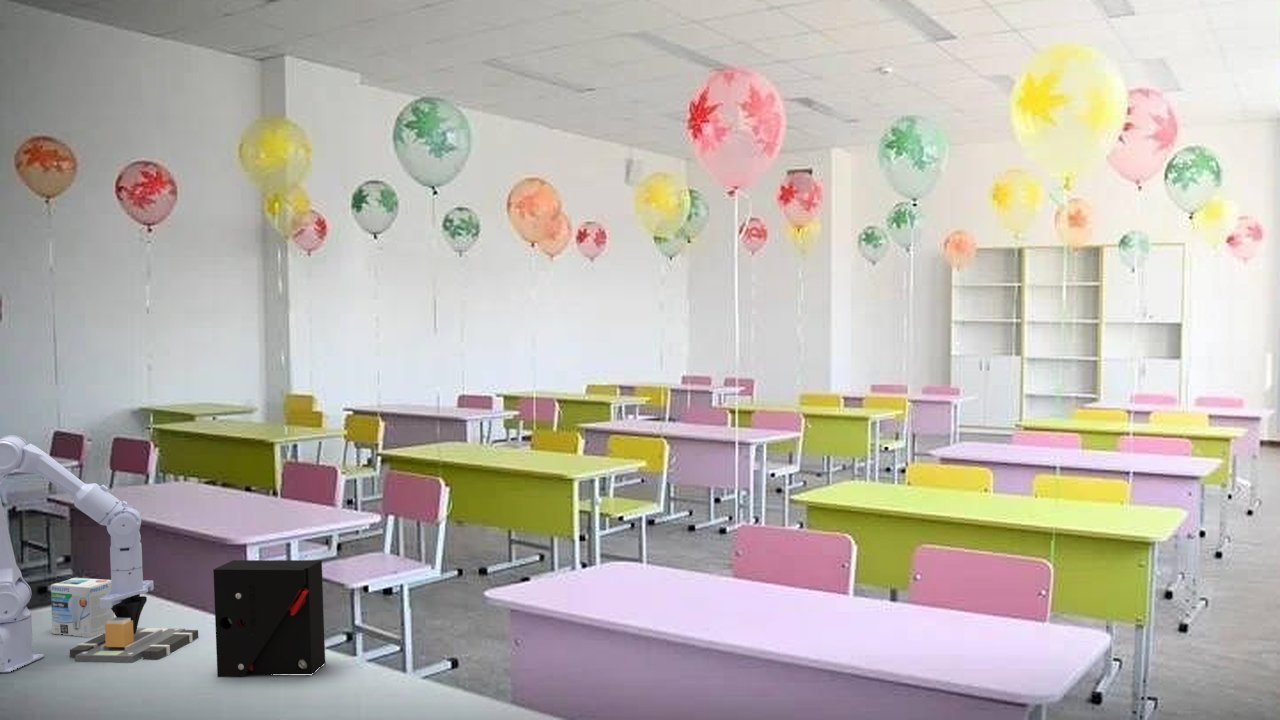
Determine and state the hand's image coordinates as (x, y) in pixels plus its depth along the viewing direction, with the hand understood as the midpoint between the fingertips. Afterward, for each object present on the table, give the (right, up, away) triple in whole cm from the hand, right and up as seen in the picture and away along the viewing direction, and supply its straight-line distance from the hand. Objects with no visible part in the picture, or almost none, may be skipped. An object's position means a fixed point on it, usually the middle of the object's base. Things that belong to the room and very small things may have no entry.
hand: (129, 634), depth 208 cm
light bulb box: (-16, -3, +13) cm, 21 cm away
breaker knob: (0, -1, -3) cm, 3 cm away
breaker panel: (0, -3, +1) cm, 3 cm away
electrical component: (+34, -3, -15) cm, 38 cm away
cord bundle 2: (+9, -3, 0) cm, 9 cm away
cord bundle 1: (-7, -3, +2) cm, 8 cm away
